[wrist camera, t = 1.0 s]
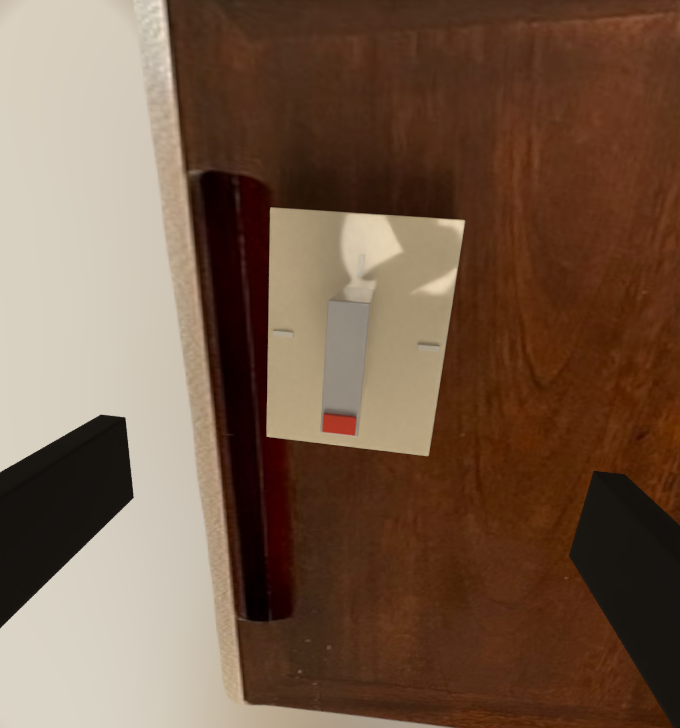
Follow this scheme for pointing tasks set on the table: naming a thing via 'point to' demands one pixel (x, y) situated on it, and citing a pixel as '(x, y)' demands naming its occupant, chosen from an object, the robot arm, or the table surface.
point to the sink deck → (388, 327)
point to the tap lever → (346, 360)
